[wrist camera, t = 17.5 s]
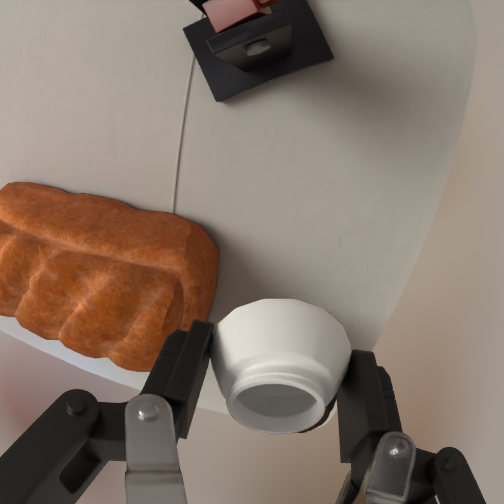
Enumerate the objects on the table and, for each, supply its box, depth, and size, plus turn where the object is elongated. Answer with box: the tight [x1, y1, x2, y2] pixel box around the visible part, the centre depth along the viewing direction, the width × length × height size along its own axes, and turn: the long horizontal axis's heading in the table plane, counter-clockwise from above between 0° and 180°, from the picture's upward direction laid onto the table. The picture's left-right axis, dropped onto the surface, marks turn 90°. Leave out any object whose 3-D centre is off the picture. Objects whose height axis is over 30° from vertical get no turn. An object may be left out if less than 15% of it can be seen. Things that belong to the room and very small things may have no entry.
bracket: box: [183, 0, 334, 102], centre depth 19 cm, size 11×8×13 cm
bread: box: [0, 182, 219, 372], centre depth 30 cm, size 16×31×13 cm, turn 78°
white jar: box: [209, 299, 352, 434], centre depth 10 cm, size 5×3×5 cm
